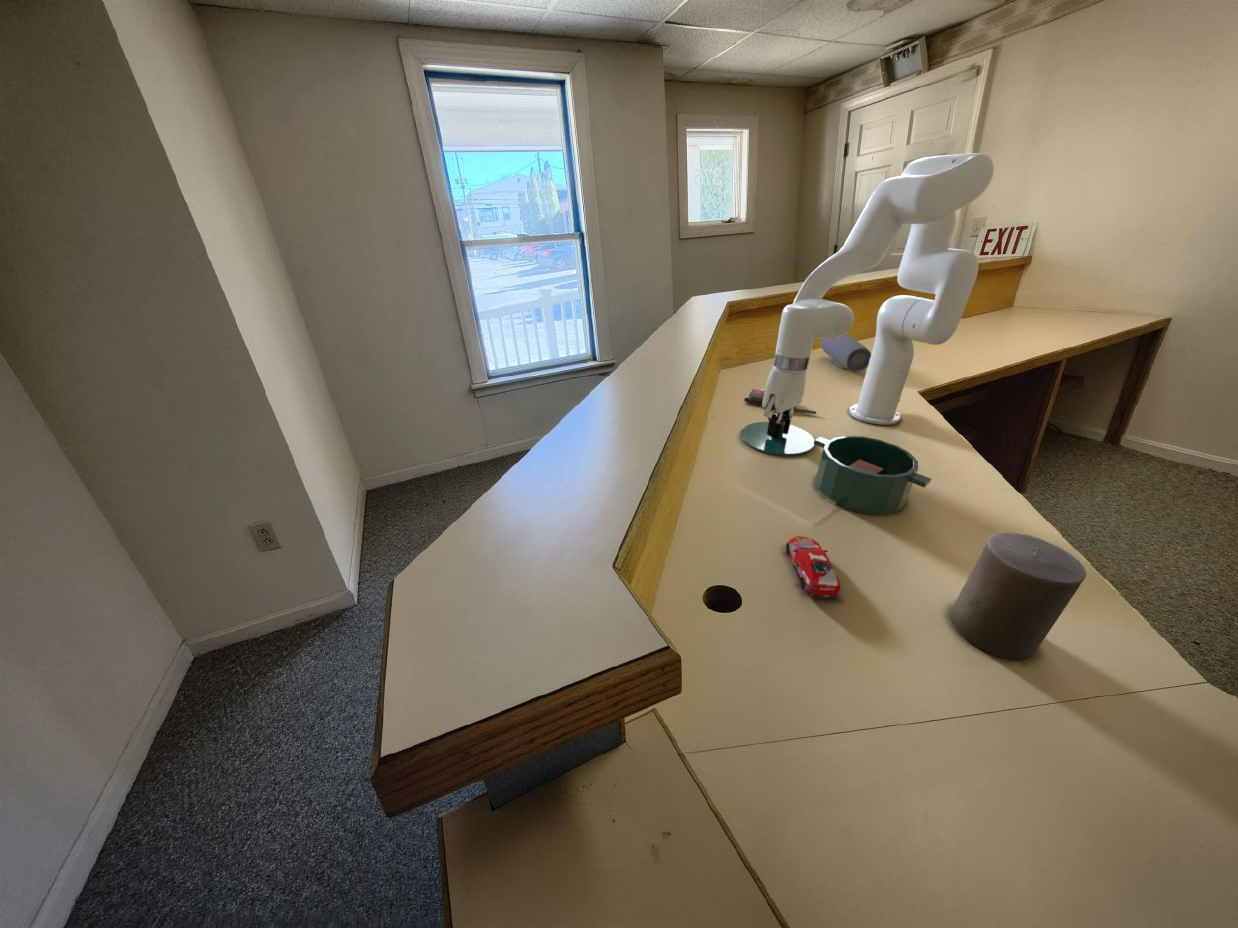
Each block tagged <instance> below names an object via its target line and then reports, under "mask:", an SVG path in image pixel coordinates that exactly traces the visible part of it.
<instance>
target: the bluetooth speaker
mask: <svg viewBox="0 0 1238 928" xmlns="http://www.w3.org/2000/svg"><path fill="white" fill-rule="evenodd" d="M820 347H821V349H822V350H823V352H824V353H825V354H826V355H827V356H828V357H829V358H831V360H832V363H834V364H835V365H836V366H837V367H839V368H841V369H843V370H848V371H851V372H854V373H855V372H861V371H864V370H865V369H866V368H868V365H869V361H870V358H871V354H872V352H870V349H868V348H867V347H866V346H864V345H863V343H861V342H859V341H858V340H856V339H854V338H853V337H851V336H849V335H847V334H845V335H843V336H841V337H839V338H835V339H821V342H820Z"/></svg>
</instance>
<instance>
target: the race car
mask: <svg viewBox="0 0 1238 928" xmlns="http://www.w3.org/2000/svg"><path fill="white" fill-rule="evenodd" d="M785 550H786V551H785V552H786V554H787V556H788V557H789V560H790V562H791V564H792V566H793V569H794V571H795V573H796V576H797V577H798V580H799V581H800V586H801V589H802V590H804V592H805V593H806V594H807V595H809V596H810V597H812V598H815V599H817V600H818V599H829V600H830V599H834V600H836V599H837V598H839V595H840V593H841V581H840V579H839V577H838V575H837V573H836V571H835V568H834V567H833V565H832V563H831V561H830V559H829V557H828V555H827V553H828V552H829V550H827V549H825V550H824V549H823V548H822V546H821V544H820V543H819V542H817V541H816V540H814V539H813V538H810V537H807V536H803V535H801V536H800V535H798V536H794V537H791V538H790V539H788V541H787V542H786V545H785Z"/></svg>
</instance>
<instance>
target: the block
mask: <svg viewBox="0 0 1238 928" xmlns="http://www.w3.org/2000/svg"><path fill="white" fill-rule="evenodd" d="M849 467H851V468H854V469H856V470H859V471H864V472H868V473H873V474H881V475H882V473H883V470H884V469H883V468H880V467H878V466H875V465H873V464H870V463H868V462H865V461H862V460H860V459H859V460H858V461H856V462H854V463H853V464H851V465H849Z"/></svg>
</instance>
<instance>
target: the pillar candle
mask: <svg viewBox="0 0 1238 928" xmlns="http://www.w3.org/2000/svg"><path fill="white" fill-rule="evenodd" d="M1086 577H1087V571H1086V568H1085V566H1084V565H1083V564H1082V562H1081V561H1080V560H1079V559H1078V558H1076V557H1075V556H1074V555H1073V554H1072V553H1071V552H1070V551H1068V550H1065V549H1064V548H1063V547H1061V546H1059V545H1057V544H1054V543H1052V542H1049V541H1046V540H1044V539H1042V538H1040V537H1036V536H1033V535H1030V534H1025V533H1019V532H1013V531H1012V532H1011V531H1010V532H1009V531H996V532H994V533H993V534H992V535H991V536H989V538H988V539H987V541H986V543H985V544H984V547H983V549H982V551H981V553H980V555H979V557H978V559H977V560H976V563H975V565H973V568H972V570H971V572H970V573H969V576H968V577H967V580H966V581H965V583H964V585H963V586H962V588H961V590H960V592H959V594H958V596H957V598H956V600H955V602H954V605H953V607H952V608H951V609H952V610H951V613H950V619H951V622H952V624H953V627H954V628H955V629H956V631H957V632H958V633H959V635H960V636H961V637H962V638H963V639H965V640H966V641H967V642H969V643H970V644H971V645H972V646H974V647H975V648H977V649H979V650H981V651H983V652H985V653H986V654H990V655H992V656H995V657H997V658H1000V659H1003V660H1009V661H1023V660H1027V659H1030V658H1031V657H1033V655H1035V653H1037V651H1038V649H1039V648H1040V646H1041V644H1042V643H1043V641H1044V640H1045V638H1046V637H1047V636H1048V634H1049V633H1050V631H1051V629H1052V628H1053V627H1054V625H1055V624H1056V623H1057V621H1058V619H1059V618H1060V617H1061V615H1062V613H1063V612H1064V611H1065V609H1066V608H1067V605H1069V603H1070V601H1071V600H1072V599H1073V597H1074V595H1075V594H1076V592H1077V591H1078V590H1079V588H1080V586H1081V585H1082V584H1083V582H1084V581H1085V579H1086Z"/></svg>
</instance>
